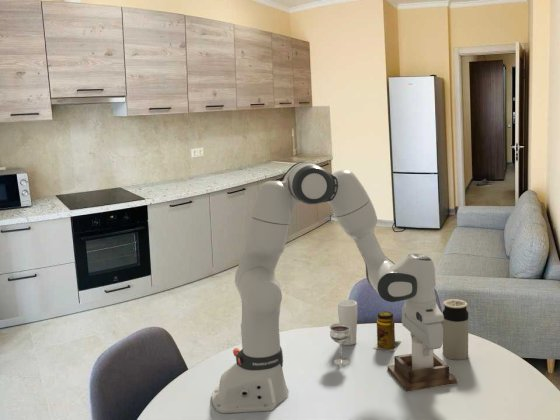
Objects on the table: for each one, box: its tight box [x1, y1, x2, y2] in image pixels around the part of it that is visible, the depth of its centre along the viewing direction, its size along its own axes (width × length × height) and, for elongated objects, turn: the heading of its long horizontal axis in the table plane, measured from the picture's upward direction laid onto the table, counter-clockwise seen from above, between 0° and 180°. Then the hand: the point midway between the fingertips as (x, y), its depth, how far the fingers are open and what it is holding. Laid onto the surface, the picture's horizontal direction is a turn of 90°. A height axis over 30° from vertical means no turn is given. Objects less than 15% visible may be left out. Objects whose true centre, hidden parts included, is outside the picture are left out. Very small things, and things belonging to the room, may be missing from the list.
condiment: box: [373, 310, 401, 352], centre depth 186 cm, size 7×8×12 cm
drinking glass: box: [337, 299, 358, 346], centre depth 190 cm, size 7×7×15 cm
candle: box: [411, 336, 434, 370], centre depth 163 cm, size 6×6×15 cm
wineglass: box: [329, 322, 351, 366], centre depth 176 cm, size 7×7×12 cm
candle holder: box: [386, 352, 458, 392], centre depth 164 cm, size 16×14×5 cm
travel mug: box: [442, 298, 469, 361], centre depth 176 cm, size 8×8×18 cm
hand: (420, 350), depth 163 cm, fingers open, 5 cm apart
